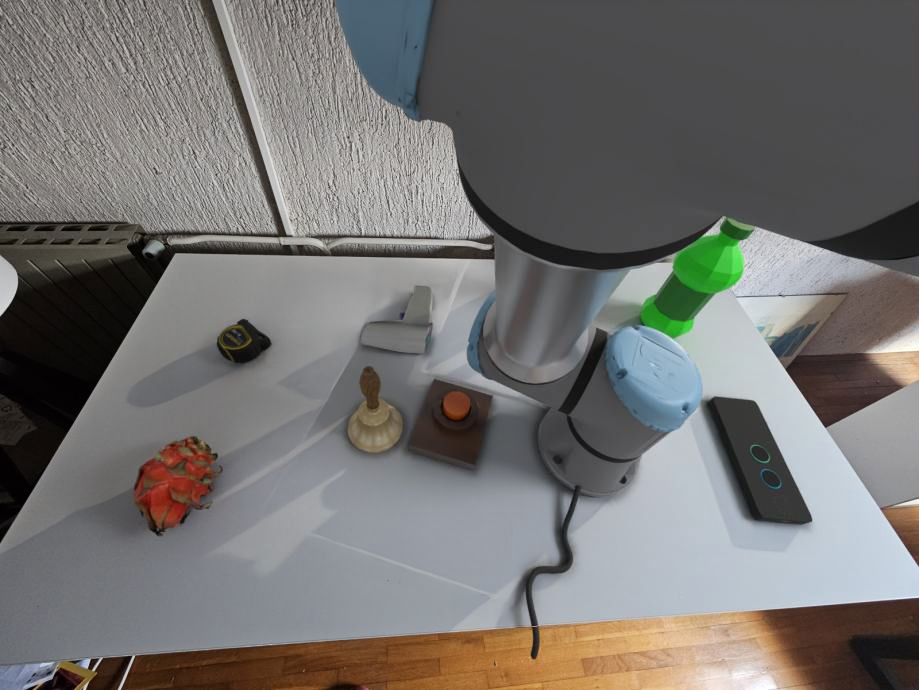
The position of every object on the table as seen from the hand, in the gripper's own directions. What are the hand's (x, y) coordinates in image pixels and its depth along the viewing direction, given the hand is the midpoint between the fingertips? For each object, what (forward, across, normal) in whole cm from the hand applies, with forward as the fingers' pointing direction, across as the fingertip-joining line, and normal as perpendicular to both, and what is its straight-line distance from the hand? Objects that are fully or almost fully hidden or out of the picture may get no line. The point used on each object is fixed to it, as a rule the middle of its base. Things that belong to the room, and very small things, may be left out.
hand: (561, 295), depth 75 cm
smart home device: (+4, -35, +22) cm, 41 cm away
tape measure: (+4, +50, +29) cm, 58 cm away
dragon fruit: (+4, +43, +52) cm, 67 cm away
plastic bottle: (+4, -21, -2) cm, 22 cm away
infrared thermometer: (+4, +28, +15) cm, 32 cm away
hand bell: (+4, +24, +36) cm, 43 cm away
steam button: (0, +13, +31) cm, 33 cm away
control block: (+4, +13, +32) cm, 34 cm away
